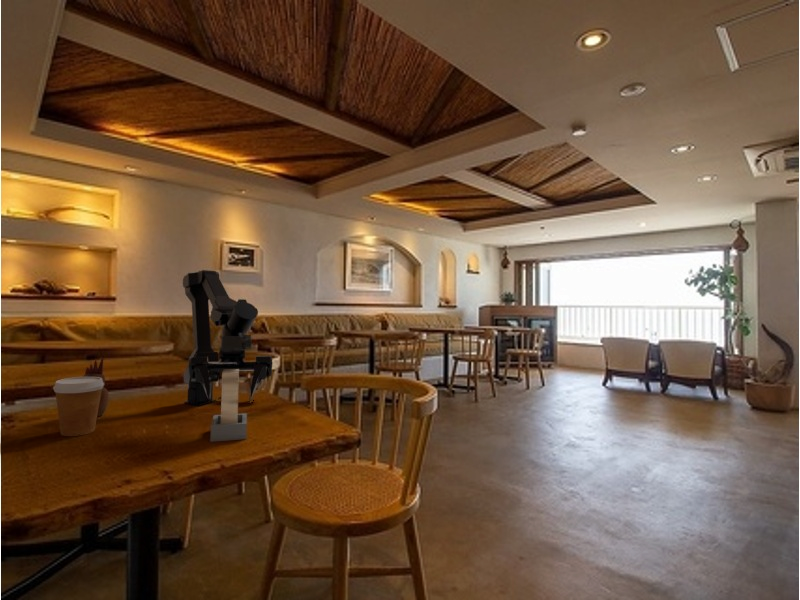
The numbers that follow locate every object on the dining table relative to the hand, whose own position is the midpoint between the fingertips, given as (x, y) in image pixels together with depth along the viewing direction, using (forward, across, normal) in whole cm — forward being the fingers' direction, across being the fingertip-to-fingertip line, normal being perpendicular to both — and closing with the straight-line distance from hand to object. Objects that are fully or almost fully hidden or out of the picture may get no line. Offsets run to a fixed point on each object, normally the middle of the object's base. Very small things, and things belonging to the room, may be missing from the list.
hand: (230, 396), depth 99 cm
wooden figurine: (-11, -34, +25) cm, 43 cm away
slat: (+5, 0, +7) cm, 8 cm away
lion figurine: (-17, +3, +31) cm, 35 cm away
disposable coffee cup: (-1, -33, +15) cm, 36 cm away
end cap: (+5, 0, +7) cm, 9 cm away
